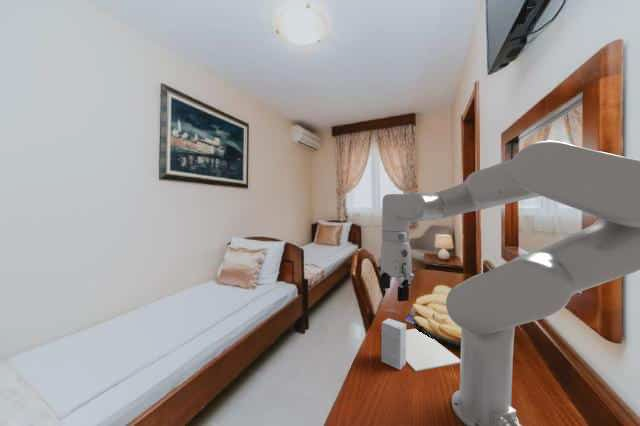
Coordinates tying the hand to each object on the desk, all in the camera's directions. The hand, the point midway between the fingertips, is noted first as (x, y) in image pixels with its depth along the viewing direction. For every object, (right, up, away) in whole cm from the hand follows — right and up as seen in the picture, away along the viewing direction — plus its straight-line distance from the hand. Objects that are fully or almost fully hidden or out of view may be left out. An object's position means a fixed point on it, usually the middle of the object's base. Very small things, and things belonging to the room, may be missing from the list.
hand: (393, 294), depth 72 cm
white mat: (+11, -20, +8) cm, 24 cm away
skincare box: (0, -21, +1) cm, 21 cm away
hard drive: (+20, -20, +27) cm, 40 cm away
